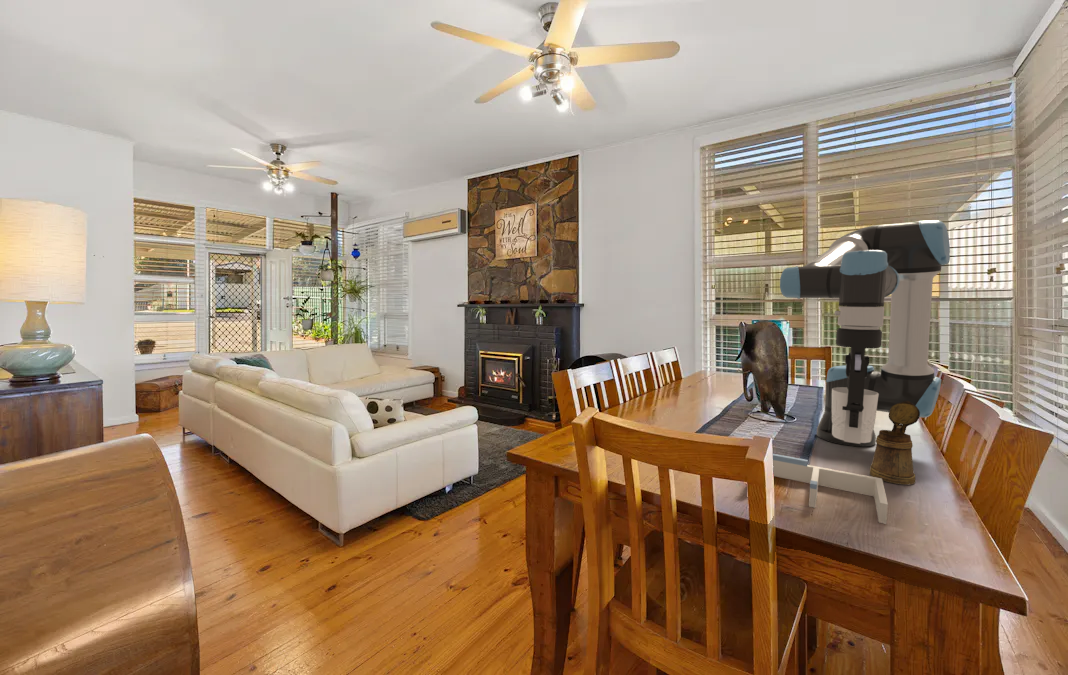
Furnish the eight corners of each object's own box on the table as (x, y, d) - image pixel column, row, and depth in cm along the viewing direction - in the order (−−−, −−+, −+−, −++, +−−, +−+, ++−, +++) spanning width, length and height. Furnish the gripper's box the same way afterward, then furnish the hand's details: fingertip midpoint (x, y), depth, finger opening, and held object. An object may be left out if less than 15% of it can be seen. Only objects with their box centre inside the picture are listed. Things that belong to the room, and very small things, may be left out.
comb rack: (758, 471, 113) (759, 451, 113) (880, 495, 100) (882, 473, 99) (747, 492, 101) (749, 470, 100) (886, 524, 87) (888, 498, 87)
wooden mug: (925, 474, 112) (931, 404, 110) (909, 488, 104) (915, 412, 102) (882, 464, 119) (887, 397, 117) (863, 476, 111) (868, 404, 109)
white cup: (833, 430, 99) (836, 385, 98) (878, 438, 93) (881, 391, 93) (824, 438, 94) (827, 391, 93) (871, 447, 88) (875, 397, 87)
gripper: (837, 324, 102) (831, 422, 104) (836, 329, 85) (828, 446, 87) (878, 325, 98) (871, 428, 100) (886, 331, 81) (877, 454, 83)
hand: (851, 436), depth 93 cm, fingers closed on white cup, 7 cm apart
